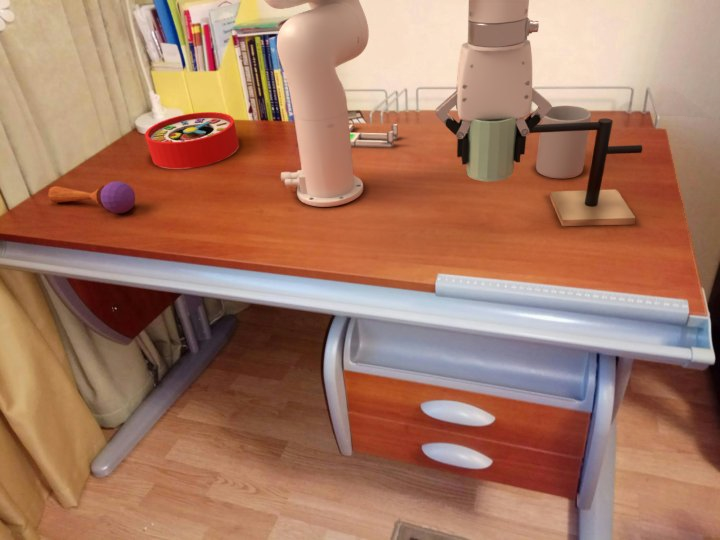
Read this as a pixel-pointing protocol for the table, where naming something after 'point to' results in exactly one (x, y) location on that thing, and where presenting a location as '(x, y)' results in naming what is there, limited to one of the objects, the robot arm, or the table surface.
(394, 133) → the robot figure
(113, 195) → the purple maraca
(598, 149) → the mug holder
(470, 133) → the small mug
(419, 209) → the table surface
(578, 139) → the mug
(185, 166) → the toy clock
